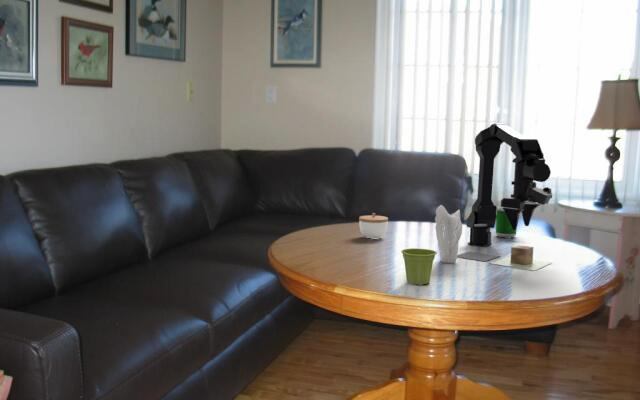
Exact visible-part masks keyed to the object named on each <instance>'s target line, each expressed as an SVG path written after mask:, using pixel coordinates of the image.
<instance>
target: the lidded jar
mask: <svg viewBox="0 0 640 400" xmlns="http://www.w3.org/2000/svg"><path fill="white" fill-rule="evenodd" d="M358 221H359V223H358V224H359V230H360V233H361V235H362V236H363V237H364V236H365V237H370V238H380V237H381V238H382V237H384V236H385V234H386V232H387V230H388V225H389V224H388V223H389V217H387V216H384V215H383V216H382V215H376V213H375V212H372V214H371V215H370V214H369V215H360V216H359V217H358ZM365 237H364V238H365Z"/></svg>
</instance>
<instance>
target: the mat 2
mask: <svg viewBox="0 0 640 400" xmlns="http://www.w3.org/2000/svg"><path fill="white" fill-rule="evenodd" d="M552 263H553V262H550V261H542V260H537V259H536V260H535V259H533V263H531V264H529V265H520V264H513V263H511V255H510V256H506V257H504V258H500V259H499V260H496V261H495V260H494V261H493V262H490V265H495V266H502V267H508V268H514V269H520V270H525V271H526V270H527V271H532V272H534V271H537V270H540V269H543V268H545V267H547V266H549V265H551V264H552Z"/></svg>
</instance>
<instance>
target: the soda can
mask: <svg viewBox="0 0 640 400" xmlns="http://www.w3.org/2000/svg"><path fill="white" fill-rule="evenodd" d="M496 207H497V210H496V216H497V217H496V222H495V235H497V237H498V236H499V237H498V238H501V237H506V238H505V239H510V238H509V237H513V238H514V237H515V236H517V229H516V230H513V229H512V227H511V224H510V222H509V219H508V217H507V215H506V213H505V211H504V209H503V207H501V204H499V205H498V206H496Z"/></svg>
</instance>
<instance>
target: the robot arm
mask: <svg viewBox="0 0 640 400" xmlns="http://www.w3.org/2000/svg"><path fill="white" fill-rule="evenodd" d="M503 143H505V144H506V145H508V146H509V147H510V152H511V153H512V155H514V156H515V157H514V158H513V159H512V163H513V164H514V176H513V180H512V181H511V183H510V184H511V185H513V190H512V191H513V193H512V194H510V196H506V197H503V198H502V199H501V200H500V205H501V207H503V209H504V211H505V213H506V215H507V217H508V219H509V222H510V224H511V227H512V229H513V230H516V231H517V227H518V225H519V224H518V223H519V219H520V215H522V221H523V224H524V226H525V227H528V226H529V225H530V223H531V220H532V217H533V214H534V212H535V210H536V209H537V208H539V207H540V206H541V205H543V206H545V204H546V205H548V204H549V202H550V199H553V193H552V188H550V187H549V186H547V187H545V186H544V188H543V189H542V188H541V187H540V188H539V187H537V183H536V182H540V183H544V182H546V181H548V179H549V178H550V176H551V169H550V166H549V165H548V164H547V163H546V159H545V157H544V153H543V151H542V148H541V146H540V145H541V144H540V142H539V140H538V139H537V138H535V137H534V136H533V137H532V136H528V135H527V136H526V135H522V134H520V133H518V132H517V131H515V129H513V128H511V127H510V126H509V125H508V124H507V123H501V122H500V123H492V124H491V125H489V127H487V128H485V129H483V130H480V132H479V133H478V134H477V135H476V136H475V137H474V144H475V151H476V154H477V156H478V158H479V166H478V168H479V169H478V179H477V180H478V181H477V183H478V185H477V198H476V200H475V201H474V203H473V204H472V206H471V212H470V214H469V216H468V217H467V219H466V221H465V222H466V223H465V224H466V227H467V228H470V229H469V242H467V245H469V246H470V245H471V246H478V247H487V246H490V245H492V232H491V229H494V228H495V227H496V217H497V207H498V206H497V205H495V204H494V202H493V184H494V182H493V181H494V170H495V169H494V168H495V158H496V157H497V156H498V154H499V153H500V152H501V151H500V150H501V146H502V144H503ZM529 227H530V226H529Z"/></svg>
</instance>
